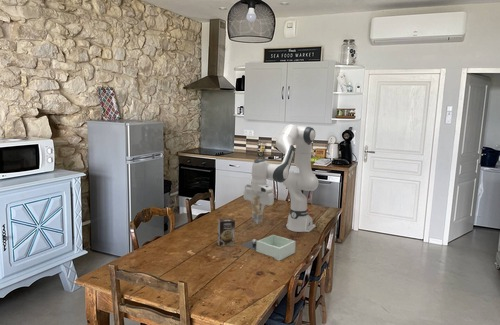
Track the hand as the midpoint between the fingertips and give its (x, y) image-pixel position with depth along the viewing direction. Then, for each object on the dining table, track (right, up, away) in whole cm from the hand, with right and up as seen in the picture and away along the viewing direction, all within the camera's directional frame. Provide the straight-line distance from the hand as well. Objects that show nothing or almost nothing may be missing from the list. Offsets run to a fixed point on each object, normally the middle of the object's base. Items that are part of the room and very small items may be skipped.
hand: (257, 209), depth 220 cm
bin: (+10, -24, -4) cm, 27 cm away
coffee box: (-19, -22, +4) cm, 30 cm away
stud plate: (-2, -23, +4) cm, 23 cm away
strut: (-1, -7, +1) cm, 8 cm away
